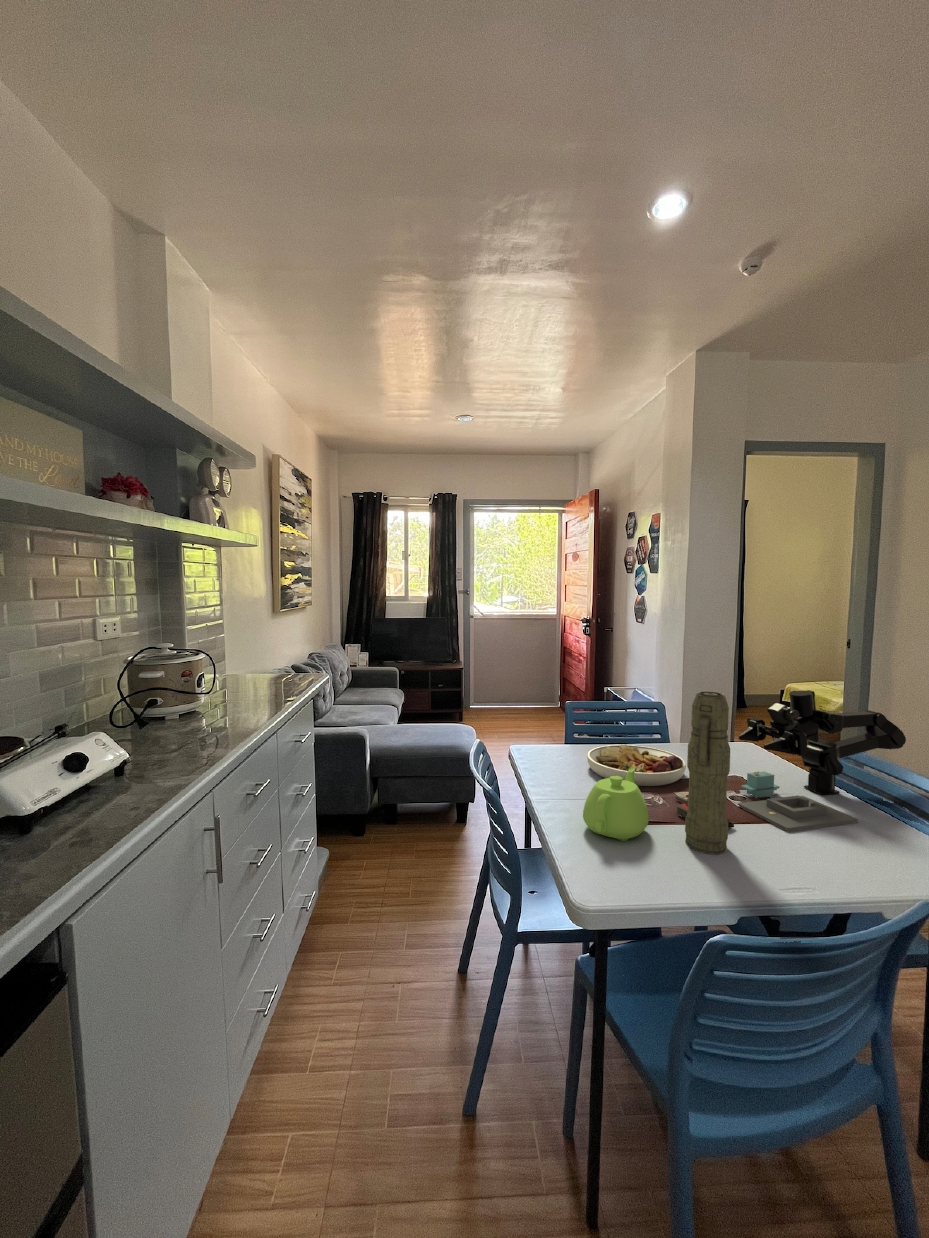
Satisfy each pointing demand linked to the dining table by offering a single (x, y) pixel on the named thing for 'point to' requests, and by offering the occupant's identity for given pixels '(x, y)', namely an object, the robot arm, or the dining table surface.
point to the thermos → (708, 774)
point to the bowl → (637, 764)
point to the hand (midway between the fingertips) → (751, 742)
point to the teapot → (616, 808)
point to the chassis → (797, 813)
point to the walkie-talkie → (683, 810)
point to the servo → (760, 784)
